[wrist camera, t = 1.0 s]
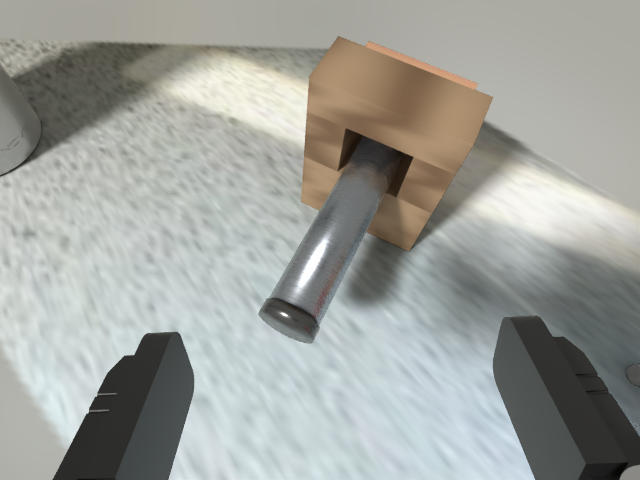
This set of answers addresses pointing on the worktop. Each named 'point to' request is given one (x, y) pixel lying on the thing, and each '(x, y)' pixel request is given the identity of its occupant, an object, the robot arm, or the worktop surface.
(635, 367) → the mechanical component
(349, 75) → the bearing block
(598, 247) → the worktop surface
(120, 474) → the robot arm
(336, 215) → the shaft
